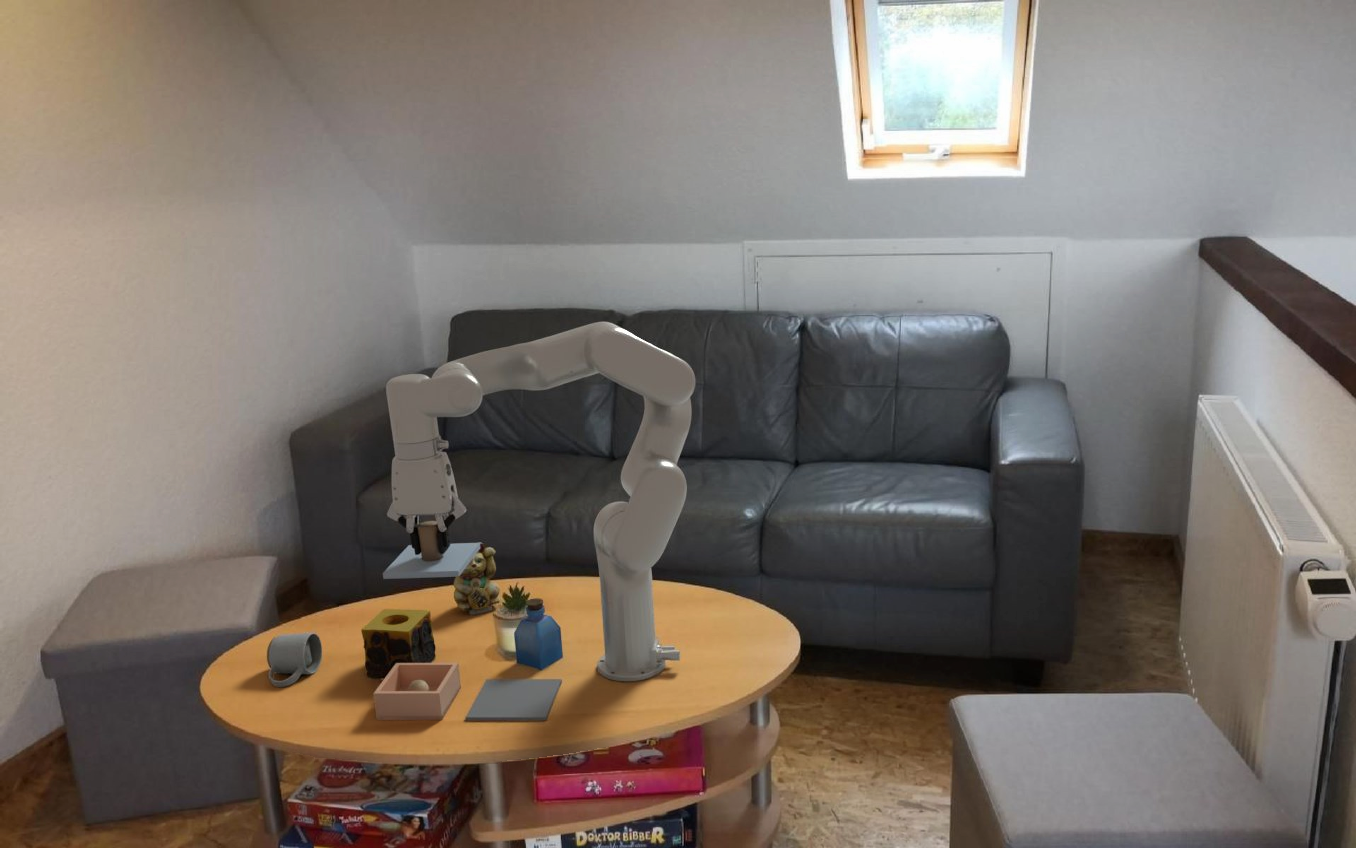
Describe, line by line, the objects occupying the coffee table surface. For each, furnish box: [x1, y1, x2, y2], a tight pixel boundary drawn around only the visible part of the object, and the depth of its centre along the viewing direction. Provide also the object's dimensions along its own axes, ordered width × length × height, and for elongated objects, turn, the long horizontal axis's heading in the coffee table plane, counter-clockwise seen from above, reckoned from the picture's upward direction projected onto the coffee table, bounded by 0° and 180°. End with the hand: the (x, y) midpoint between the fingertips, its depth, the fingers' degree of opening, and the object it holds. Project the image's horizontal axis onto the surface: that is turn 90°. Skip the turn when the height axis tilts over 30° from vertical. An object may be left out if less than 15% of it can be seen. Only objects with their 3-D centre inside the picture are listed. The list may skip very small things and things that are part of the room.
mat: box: [465, 678, 563, 722], centre depth 198 cm, size 14×14×1 cm
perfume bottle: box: [513, 597, 564, 671], centre depth 212 cm, size 6×6×12 cm
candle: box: [361, 608, 437, 680], centre depth 212 cm, size 10×10×10 cm
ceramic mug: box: [266, 631, 323, 688], centre depth 212 cm, size 11×8×8 cm
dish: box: [373, 662, 462, 721], centre depth 198 cm, size 12×12×5 cm
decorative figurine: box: [453, 542, 501, 616], centre depth 238 cm, size 10×8×15 cm
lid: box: [382, 520, 480, 580], centre depth 192 cm, size 13×13×7 cm
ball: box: [408, 680, 429, 691], centre depth 198 cm, size 4×4×4 cm
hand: (431, 550), depth 192 cm, fingers closed on lid, 3 cm apart
